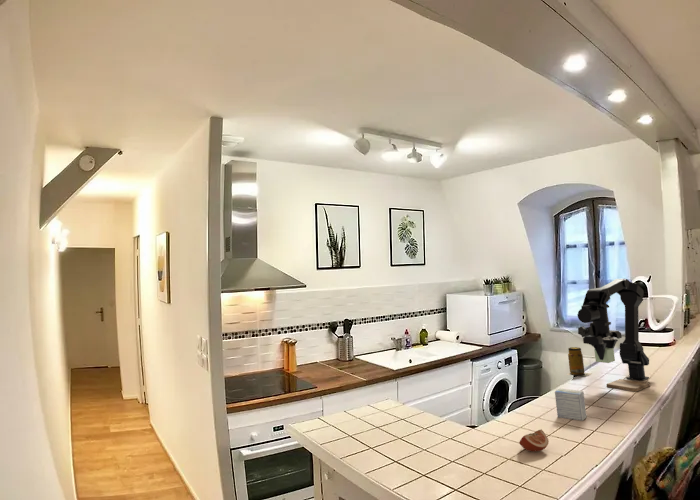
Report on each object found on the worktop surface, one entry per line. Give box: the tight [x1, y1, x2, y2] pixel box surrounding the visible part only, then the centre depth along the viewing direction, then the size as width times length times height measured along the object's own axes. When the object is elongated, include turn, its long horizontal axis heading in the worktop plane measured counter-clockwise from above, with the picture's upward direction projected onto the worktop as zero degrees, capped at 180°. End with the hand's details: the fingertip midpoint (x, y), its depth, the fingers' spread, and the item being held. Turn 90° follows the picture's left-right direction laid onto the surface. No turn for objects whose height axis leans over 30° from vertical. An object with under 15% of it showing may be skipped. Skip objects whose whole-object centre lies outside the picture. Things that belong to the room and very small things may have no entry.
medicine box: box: [554, 388, 587, 422], centre depth 144 cm, size 8×4×9 cm, turn 47°
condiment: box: [567, 346, 593, 377], centre depth 201 cm, size 7×8×12 cm
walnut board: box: [606, 378, 650, 392], centre depth 175 cm, size 11×11×1 cm
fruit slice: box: [518, 428, 550, 453], centre depth 120 cm, size 8×7×5 cm
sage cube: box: [594, 348, 616, 364], centre depth 176 cm, size 5×5×5 cm
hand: (605, 358), depth 176 cm, fingers closed on sage cube, 5 cm apart
